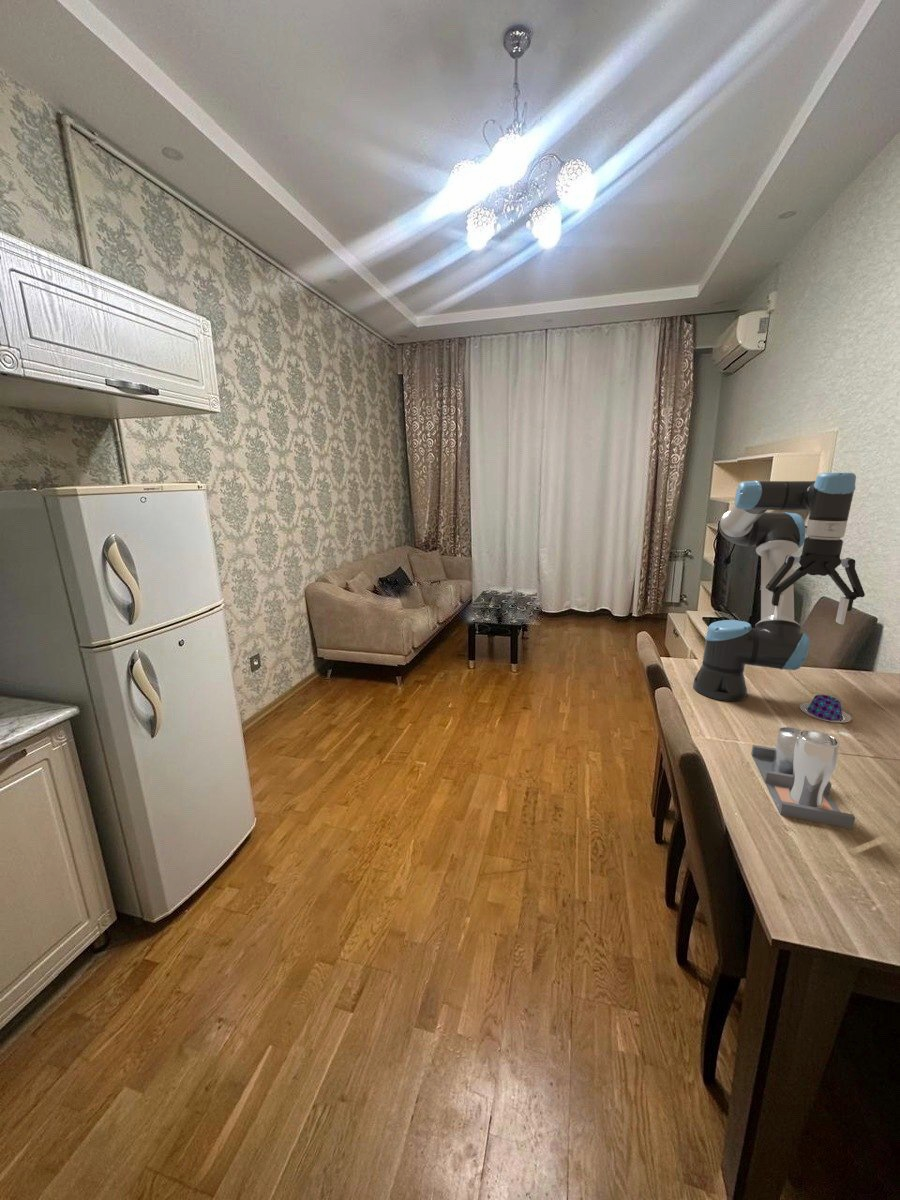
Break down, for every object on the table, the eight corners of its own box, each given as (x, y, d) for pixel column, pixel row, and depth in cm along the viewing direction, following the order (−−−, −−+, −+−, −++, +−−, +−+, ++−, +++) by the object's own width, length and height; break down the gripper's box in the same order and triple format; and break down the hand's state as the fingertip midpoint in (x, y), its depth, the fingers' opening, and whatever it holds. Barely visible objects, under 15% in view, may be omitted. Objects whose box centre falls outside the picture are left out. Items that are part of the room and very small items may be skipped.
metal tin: (765, 768, 110) (773, 730, 107) (783, 762, 112) (791, 725, 109) (791, 783, 104) (800, 743, 102) (809, 777, 106) (818, 738, 104)
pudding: (862, 723, 132) (866, 706, 131) (824, 726, 131) (827, 709, 130) (824, 704, 144) (827, 688, 143) (789, 706, 142) (792, 690, 141)
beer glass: (777, 795, 100) (789, 732, 96) (797, 787, 103) (810, 726, 99) (812, 816, 94) (827, 750, 90) (833, 807, 96) (848, 742, 93)
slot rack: (750, 756, 116) (752, 744, 115) (808, 766, 112) (810, 754, 111) (779, 817, 95) (782, 803, 94) (851, 832, 91) (855, 817, 90)
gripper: (769, 537, 115) (755, 619, 120) (895, 541, 107) (874, 629, 112) (761, 534, 122) (748, 612, 127) (879, 538, 114) (860, 621, 119)
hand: (807, 620), depth 120 cm, fingers open, 13 cm apart
